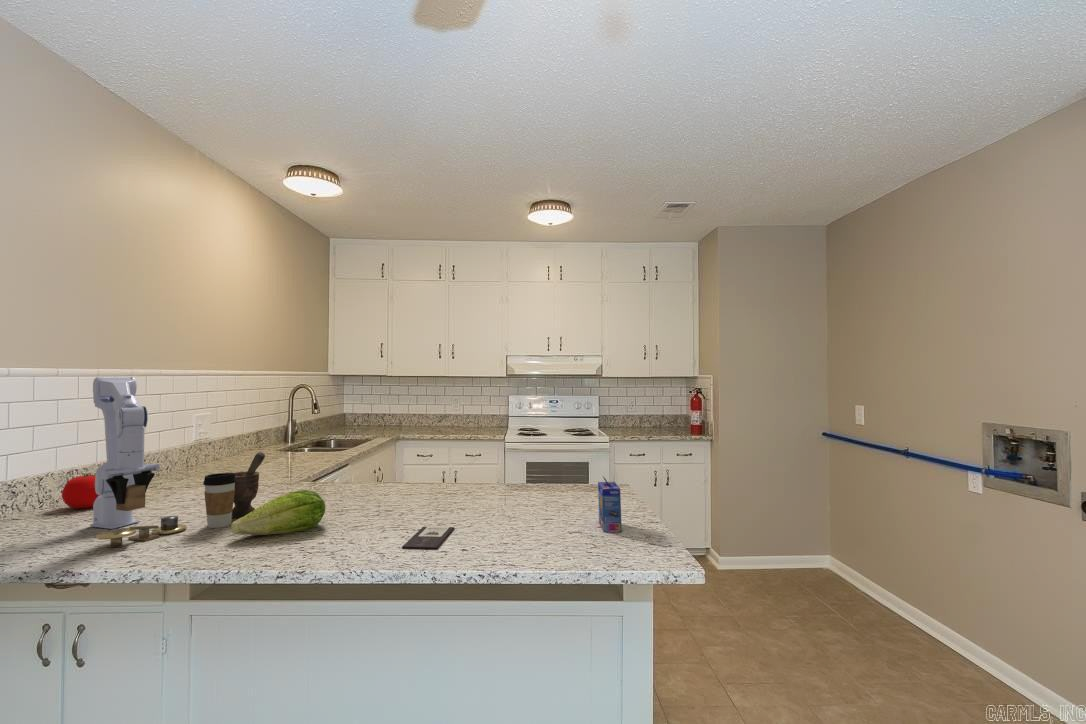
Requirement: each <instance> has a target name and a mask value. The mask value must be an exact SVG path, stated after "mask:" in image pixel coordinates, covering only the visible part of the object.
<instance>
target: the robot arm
mask: <svg viewBox="0 0 1086 724" xmlns="http://www.w3.org/2000/svg"><path fill="white" fill-rule="evenodd" d="M137 387H138V384H137V380H136V378H135V377H133V376H130V377H129V376H128V377H119V376H118V377H99V376H96V377H95V378H94V379H93V383H92V394H93V395H92V396H93V397H92V398H93V399H92V400H93V404H94V407H95V408H97V409H100V410H101V411H102V414H103V415H102V416H103V418H104V435H105V450H106V451H105V452H106V453H105V455H106V461H105V462H104V463H103V464H101V465H100V466H99V467H98V468H97V469H96V471H95V474H94V475H95V476H96V477H95V491H96V494H98V495H100V496H98V497H97V498H96V500H95V502H94V505H93V507H92V509H93V510H92V511H93V512H92V513H93V514H92V517H93V518H92V523H90V524H89V527H94V528H100V529H101V528H102V529H103V528H104V529H110V530H114V529H119V528H121V527H122V528H123V527H125V526H130V525H133V524H137V523H140V522H141V521H140V519H133V516H134V515H133V514H134V513H133V511H134V510H131V511H122V510H116V503H117V504H124V503H125V492H126V486H127V485H132V484H137V485H146V490H145V494H146V493H147V490H148V487H149V485H150V483H151V481H152V480H153V479H154V477H155V472H157V471H160V466H161V465H160V463H157V462H156V463H154V462H153V463H148V464H145V428H146V427H147V426H148V425H147V424H148V421H149V417H148V415H149V414H148V410H147V407H146V405H143V406H141V404H140V402H139V400H138V398H137V397H136V394H137Z"/></svg>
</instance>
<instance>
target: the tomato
mask: <svg viewBox="0 0 1086 724" xmlns="http://www.w3.org/2000/svg"><path fill="white" fill-rule="evenodd" d="M95 477H96V476H95V474H89V473H86V474H83V475H79V476H76V477H75V476H74V477H72V478H70V479H69V480H68V481H67V483H66V484H65V485H64V487H63V489H62V491H61V498H62V501H63V502H64V504H65V505H67V506H68V507H70V508H73V509H91V508H92V509H93V505H94V502H95V500H96V498H97V497H98V496H100V495H98V494H96V491H95Z"/></svg>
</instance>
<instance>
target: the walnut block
mask: <svg viewBox="0 0 1086 724" xmlns="http://www.w3.org/2000/svg"><path fill="white" fill-rule="evenodd" d="M145 490H146V485H137V484H132V485H127V486H126V492H125V503H124V504H117V503H116V510H122V511H131V510H133V511H135V510H139V509H144V508H146V493H145ZM146 491H147V490H146Z"/></svg>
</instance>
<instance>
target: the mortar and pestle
mask: <svg viewBox="0 0 1086 724" xmlns="http://www.w3.org/2000/svg"><path fill="white" fill-rule="evenodd" d="M265 457H266V454H265V453H264V452H261V451H259V452H257V453H256V454H255V455H254V457H253V459H252V461H251V463H250V465H249V468H248V469H247V471H245V470H243V471H242V470H241V471H236V472H234V473H235V477H236V482H235V487H234V489H235V494H234V502H233V505H234V506H233V510H232V518H233V519H240V518H242V517H244V516H245V515H247V514H249V513H250V512H252V511H253V510H255V509H256V508H255V507H253V506H252V502H253V500H254V499H256V497H257V494H258V490H259V486H260V485H259V480H260V472H258V471H257V470H258V468H259V467H260V466H261V465H262V463H263V461H264V459H265Z"/></svg>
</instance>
